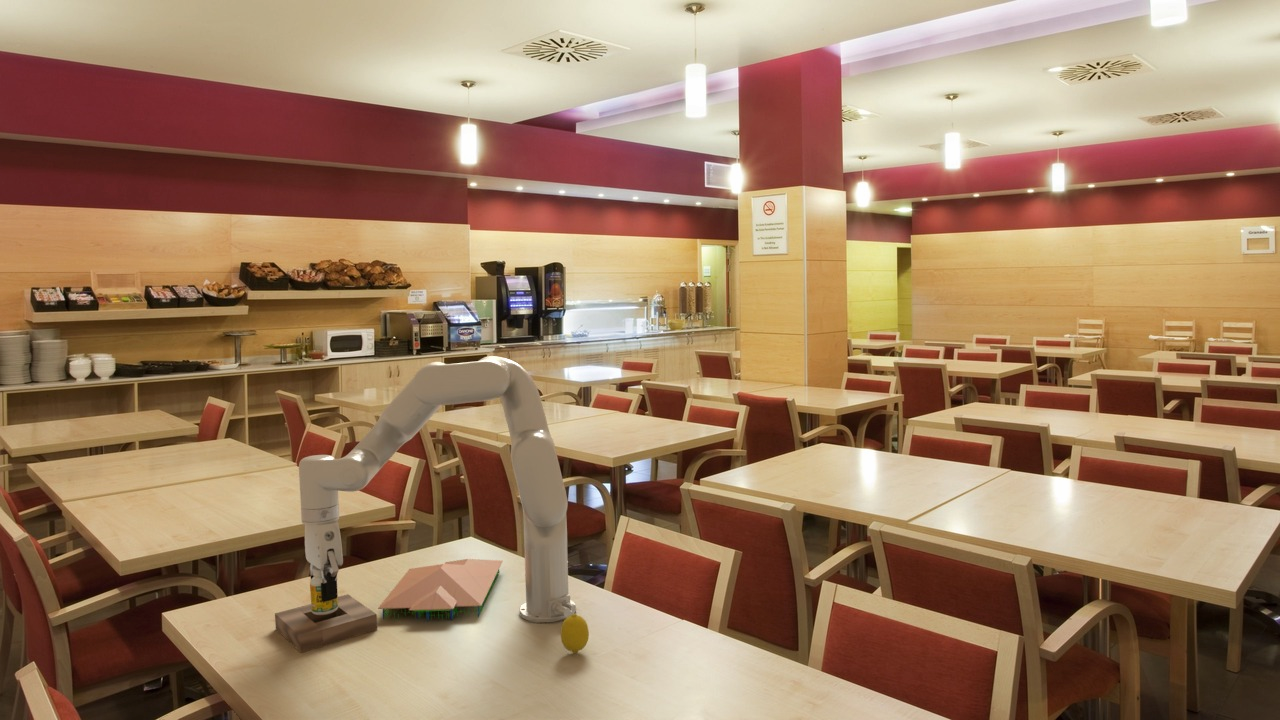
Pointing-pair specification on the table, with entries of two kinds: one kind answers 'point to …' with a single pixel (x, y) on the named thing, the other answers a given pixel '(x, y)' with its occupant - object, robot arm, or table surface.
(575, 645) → the lemon
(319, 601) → the supplement bottle
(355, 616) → the holder
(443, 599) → the house
